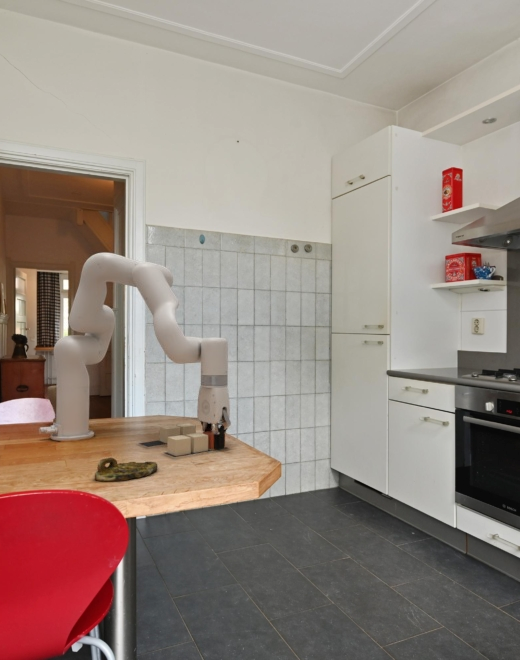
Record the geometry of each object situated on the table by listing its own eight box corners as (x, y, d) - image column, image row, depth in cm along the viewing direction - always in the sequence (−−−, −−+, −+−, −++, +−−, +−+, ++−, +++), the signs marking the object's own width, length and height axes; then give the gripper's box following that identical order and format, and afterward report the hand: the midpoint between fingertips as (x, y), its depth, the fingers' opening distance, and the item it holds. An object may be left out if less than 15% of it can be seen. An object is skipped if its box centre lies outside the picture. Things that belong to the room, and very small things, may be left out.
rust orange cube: (211, 449, 131) (211, 434, 131) (202, 446, 134) (202, 431, 134) (225, 447, 134) (225, 432, 134) (215, 444, 137) (216, 430, 137)
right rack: (174, 458, 123) (174, 440, 123) (163, 454, 127) (163, 436, 128) (228, 449, 134) (228, 432, 134) (216, 445, 138) (216, 429, 138)
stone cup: (45, 423, 172) (46, 381, 173) (80, 420, 178) (80, 380, 179) (49, 430, 159) (50, 385, 159) (87, 427, 165) (87, 383, 165)
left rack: (147, 448, 134) (148, 431, 134) (138, 444, 139) (138, 428, 139) (199, 440, 145) (199, 425, 145) (189, 437, 150) (189, 422, 150)
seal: (145, 468, 117) (86, 480, 106) (144, 449, 117) (85, 458, 107) (167, 472, 110) (106, 484, 100) (166, 451, 111) (105, 461, 100)
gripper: (186, 380, 139) (186, 443, 138) (220, 384, 126) (220, 454, 125) (208, 378, 143) (208, 440, 143) (243, 382, 130) (242, 450, 130)
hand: (213, 446), depth 134 cm, fingers closed on rust orange cube, 4 cm apart
